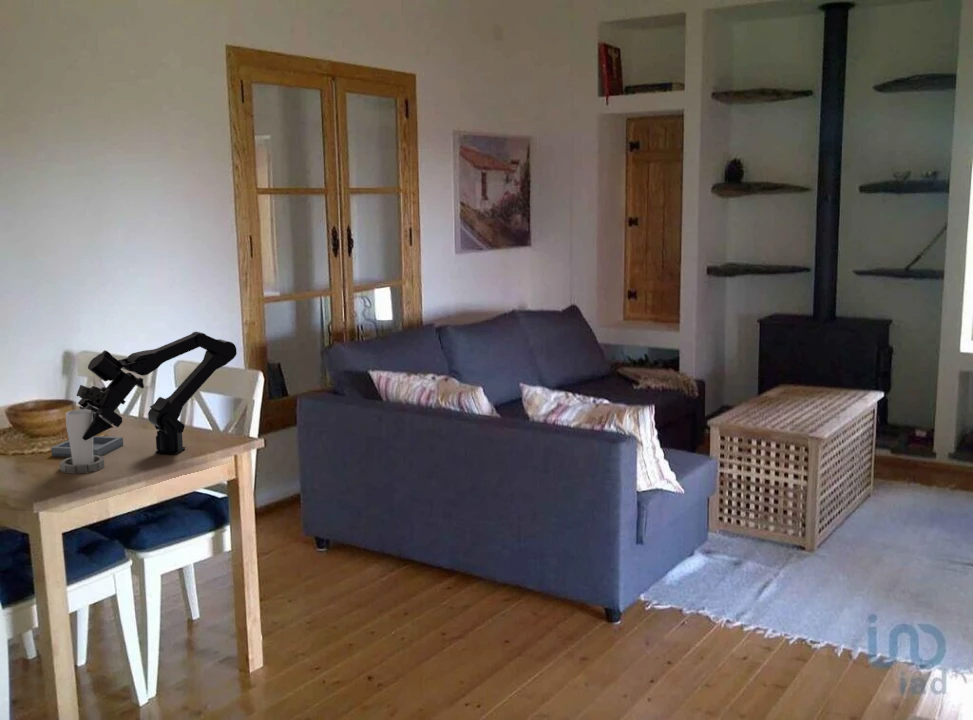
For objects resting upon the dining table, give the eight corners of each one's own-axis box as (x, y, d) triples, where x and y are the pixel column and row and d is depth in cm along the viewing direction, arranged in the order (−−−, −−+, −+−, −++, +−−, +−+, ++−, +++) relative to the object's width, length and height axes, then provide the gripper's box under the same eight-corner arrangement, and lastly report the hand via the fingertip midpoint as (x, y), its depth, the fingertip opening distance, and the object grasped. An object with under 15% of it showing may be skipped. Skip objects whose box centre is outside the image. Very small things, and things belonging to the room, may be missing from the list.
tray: (123, 445, 281) (122, 437, 281) (97, 458, 268) (96, 449, 267) (79, 443, 283) (79, 435, 283) (51, 456, 270) (51, 447, 269)
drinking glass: (64, 466, 257) (59, 413, 255) (85, 460, 263) (80, 408, 261) (81, 470, 254) (77, 416, 252) (102, 463, 260) (97, 410, 257)
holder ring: (112, 462, 263) (111, 455, 263) (90, 474, 253) (89, 467, 252) (75, 461, 265) (75, 454, 265) (52, 472, 254) (51, 465, 254)
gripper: (82, 369, 264) (44, 413, 259) (107, 379, 250) (67, 426, 245) (113, 392, 271) (76, 436, 266) (138, 403, 257) (100, 450, 252)
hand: (79, 436), depth 257 cm, fingers closed on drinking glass, 7 cm apart
